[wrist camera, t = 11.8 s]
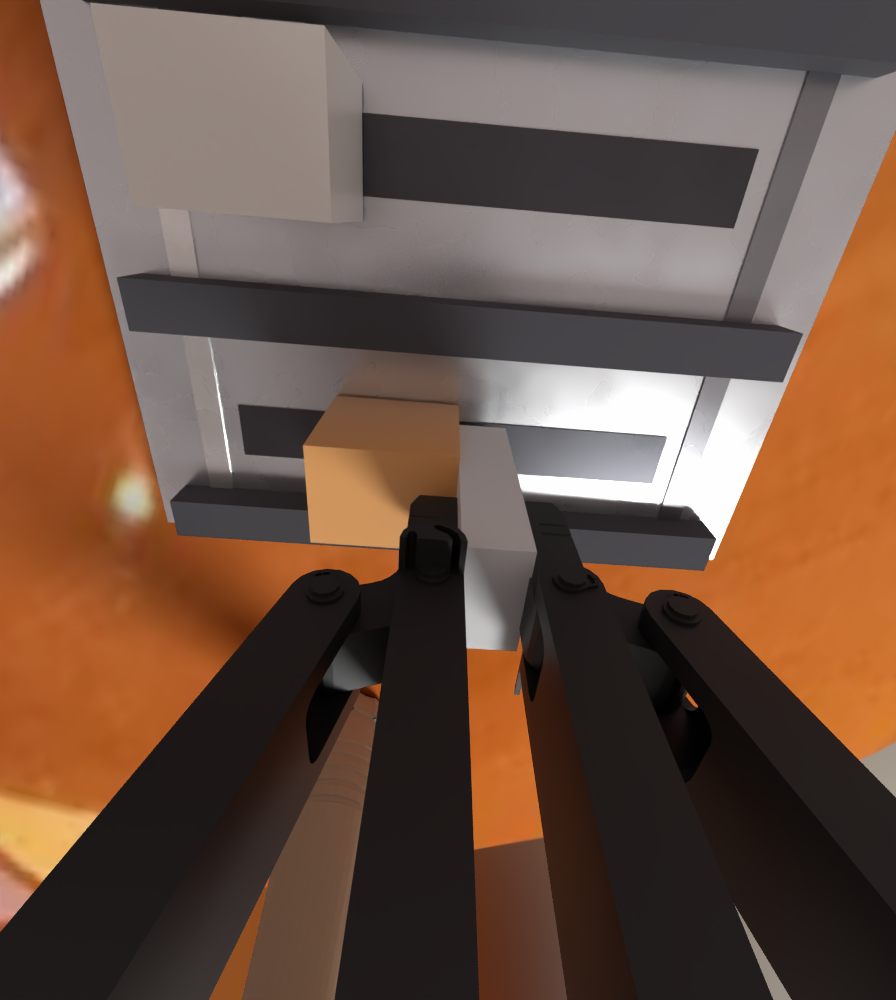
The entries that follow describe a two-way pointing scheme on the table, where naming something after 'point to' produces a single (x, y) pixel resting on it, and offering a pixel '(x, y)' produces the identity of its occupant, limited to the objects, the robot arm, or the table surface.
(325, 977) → the handle
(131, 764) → the table surface
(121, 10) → the toggle
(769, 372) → the slotted rail tray
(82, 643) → the table surface
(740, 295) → the panel
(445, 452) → the toggle
